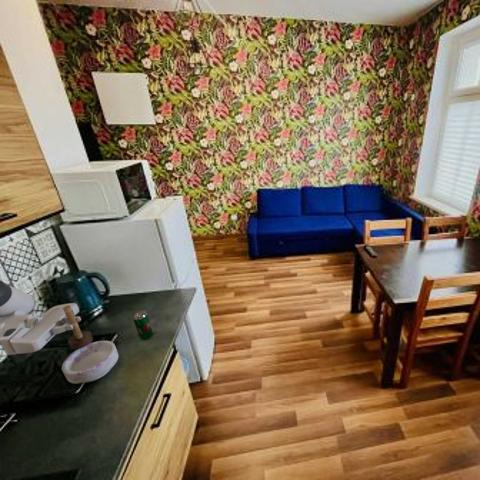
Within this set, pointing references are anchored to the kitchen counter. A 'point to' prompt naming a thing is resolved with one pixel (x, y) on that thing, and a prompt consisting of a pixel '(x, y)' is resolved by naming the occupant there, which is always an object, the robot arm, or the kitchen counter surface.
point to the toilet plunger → (77, 332)
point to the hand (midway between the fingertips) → (76, 322)
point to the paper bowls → (90, 362)
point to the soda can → (143, 325)
